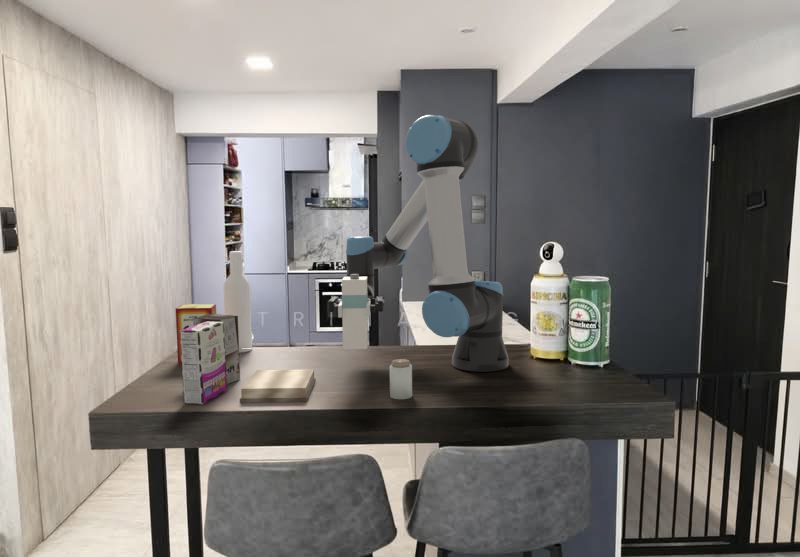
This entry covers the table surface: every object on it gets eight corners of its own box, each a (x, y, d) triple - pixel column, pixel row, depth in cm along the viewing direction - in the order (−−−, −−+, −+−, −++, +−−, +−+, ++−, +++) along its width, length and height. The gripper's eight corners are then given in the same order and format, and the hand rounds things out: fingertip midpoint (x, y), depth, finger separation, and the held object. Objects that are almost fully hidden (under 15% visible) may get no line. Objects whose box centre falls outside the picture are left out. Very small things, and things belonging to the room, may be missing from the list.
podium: (315, 381, 149) (315, 369, 149) (306, 401, 133) (306, 388, 132) (256, 381, 149) (255, 369, 149) (239, 402, 132) (239, 389, 132)
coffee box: (241, 379, 151) (239, 315, 150) (223, 385, 146) (221, 319, 144) (213, 375, 155) (210, 313, 154) (194, 381, 149) (192, 317, 148)
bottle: (248, 353, 180) (245, 252, 177) (222, 353, 180) (218, 252, 177) (255, 347, 188) (252, 250, 185) (230, 347, 188) (226, 250, 185)
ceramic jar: (411, 392, 139) (411, 358, 138) (412, 399, 134) (412, 363, 133) (389, 393, 139) (389, 358, 138) (390, 399, 134) (389, 364, 133)
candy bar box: (208, 389, 142) (205, 320, 141) (227, 390, 141) (225, 321, 140) (181, 404, 132) (178, 329, 130) (202, 405, 131) (199, 330, 129)
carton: (368, 342, 146) (367, 272, 144) (367, 349, 139) (366, 275, 137) (344, 342, 146) (343, 272, 144) (342, 349, 139) (341, 275, 137)
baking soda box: (217, 358, 174) (215, 303, 172) (213, 363, 167) (211, 306, 166) (183, 359, 173) (181, 303, 171) (178, 365, 166) (175, 307, 165)
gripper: (394, 311, 160) (395, 327, 137) (323, 311, 159) (312, 328, 136) (394, 282, 159) (395, 294, 136) (323, 283, 159) (312, 295, 136)
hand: (353, 311), depth 136 cm, fingers closed on carton, 6 cm apart
